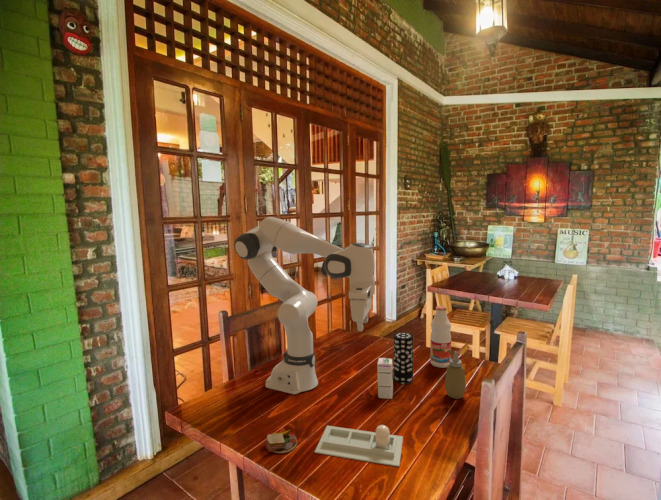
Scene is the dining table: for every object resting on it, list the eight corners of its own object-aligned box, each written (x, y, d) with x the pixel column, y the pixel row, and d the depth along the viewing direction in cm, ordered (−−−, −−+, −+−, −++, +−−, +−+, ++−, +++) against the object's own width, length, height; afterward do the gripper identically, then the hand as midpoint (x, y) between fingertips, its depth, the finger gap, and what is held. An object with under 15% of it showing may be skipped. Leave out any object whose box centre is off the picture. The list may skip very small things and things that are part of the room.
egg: (374, 450, 113) (374, 429, 112) (376, 441, 117) (376, 421, 116) (388, 452, 112) (388, 431, 111) (390, 443, 116) (390, 423, 115)
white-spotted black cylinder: (393, 383, 156) (392, 338, 154) (394, 374, 164) (394, 331, 162) (412, 384, 154) (413, 339, 152) (413, 376, 162) (413, 332, 160)
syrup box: (392, 399, 143) (392, 364, 142) (377, 398, 144) (377, 363, 143) (393, 392, 149) (392, 358, 147) (378, 390, 150) (378, 357, 148)
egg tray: (314, 452, 113) (314, 446, 113) (327, 426, 126) (327, 421, 126) (399, 466, 106) (399, 460, 106) (403, 437, 119) (403, 431, 119)
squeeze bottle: (447, 388, 151) (447, 346, 149) (467, 393, 146) (468, 350, 144) (442, 397, 144) (442, 353, 142) (463, 402, 140) (464, 357, 138)
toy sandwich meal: (298, 453, 114) (298, 442, 113) (265, 457, 112) (265, 447, 111) (295, 434, 123) (295, 424, 122) (265, 439, 121) (264, 428, 120)
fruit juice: (447, 359, 179) (448, 304, 175) (453, 368, 169) (454, 309, 166) (428, 359, 179) (428, 304, 176) (432, 368, 170) (433, 309, 167)
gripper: (359, 282, 139) (359, 317, 141) (347, 294, 120) (348, 335, 121) (375, 282, 138) (375, 318, 139) (366, 295, 118) (366, 336, 120)
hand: (362, 326), depth 130 cm, fingers open, 8 cm apart
